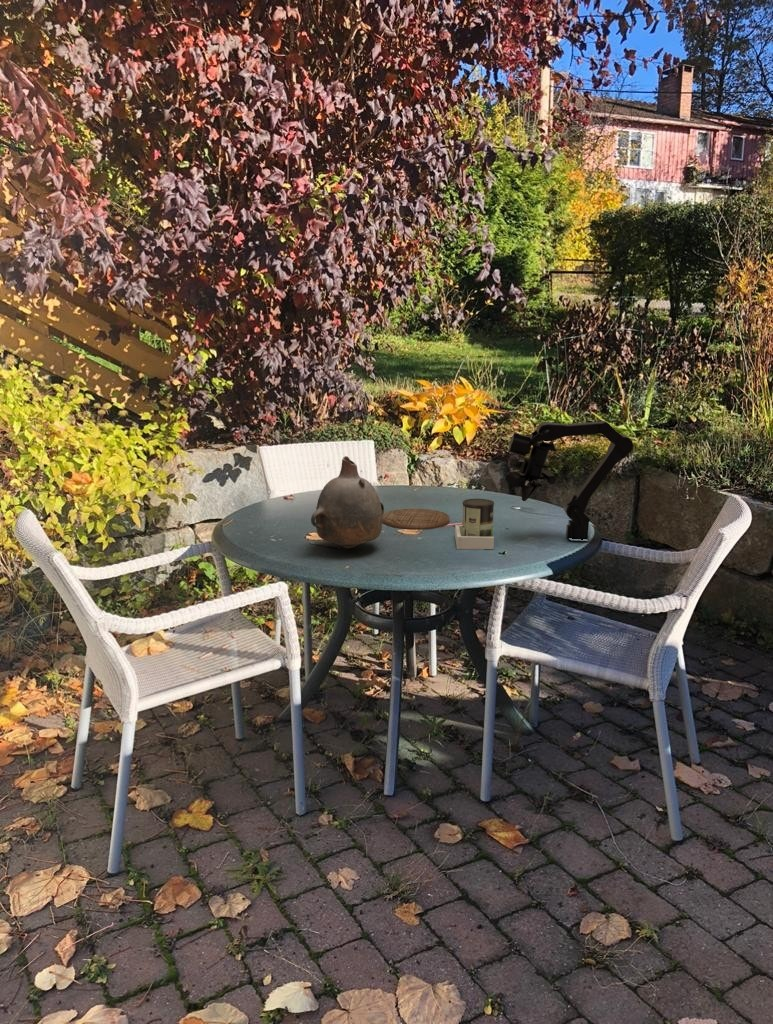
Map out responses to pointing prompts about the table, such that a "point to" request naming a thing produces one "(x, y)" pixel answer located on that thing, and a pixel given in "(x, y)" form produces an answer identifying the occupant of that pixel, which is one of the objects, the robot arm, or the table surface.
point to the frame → (472, 540)
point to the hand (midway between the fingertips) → (523, 500)
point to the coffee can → (478, 517)
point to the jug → (348, 509)
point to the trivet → (415, 519)
